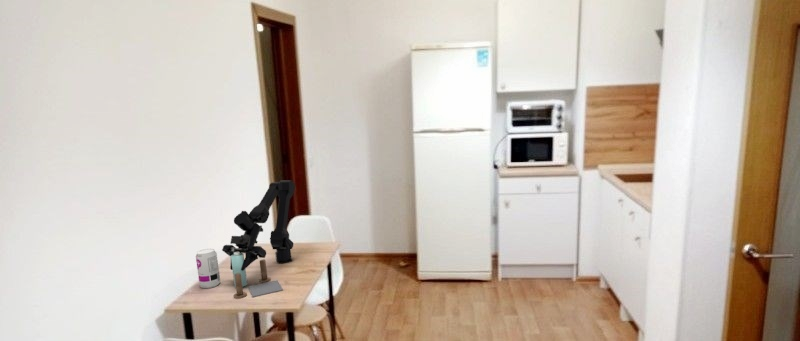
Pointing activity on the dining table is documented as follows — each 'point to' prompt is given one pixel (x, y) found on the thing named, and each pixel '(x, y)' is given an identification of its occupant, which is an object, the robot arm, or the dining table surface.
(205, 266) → the supplement can
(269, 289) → the charcoal rubber mat
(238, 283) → the walnut gate posts
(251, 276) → the dining table surface
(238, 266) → the teal bottle
